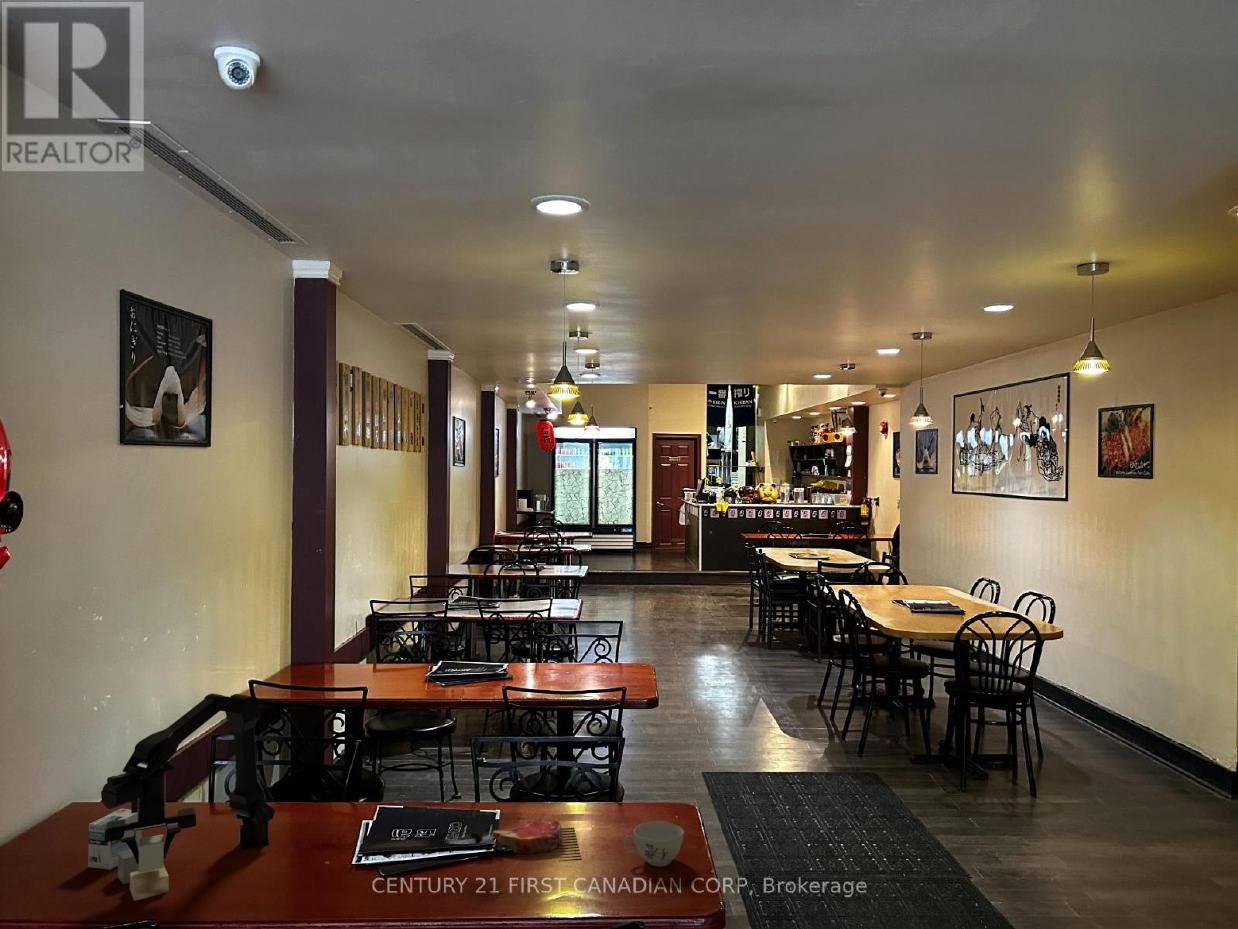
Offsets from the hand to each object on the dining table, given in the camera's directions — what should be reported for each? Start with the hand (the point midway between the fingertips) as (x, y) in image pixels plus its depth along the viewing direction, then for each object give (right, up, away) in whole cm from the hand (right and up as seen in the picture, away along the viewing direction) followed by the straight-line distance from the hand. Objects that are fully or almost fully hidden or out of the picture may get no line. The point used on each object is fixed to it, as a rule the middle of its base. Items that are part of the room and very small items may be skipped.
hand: (151, 861), depth 199 cm
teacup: (+118, -7, +14) cm, 120 cm away
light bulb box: (-18, -7, +15) cm, 24 cm away
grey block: (-8, -7, +6) cm, 12 cm away
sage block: (0, -1, 0) cm, 1 cm away
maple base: (0, -7, -1) cm, 7 cm away
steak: (+86, -8, +23) cm, 90 cm away
